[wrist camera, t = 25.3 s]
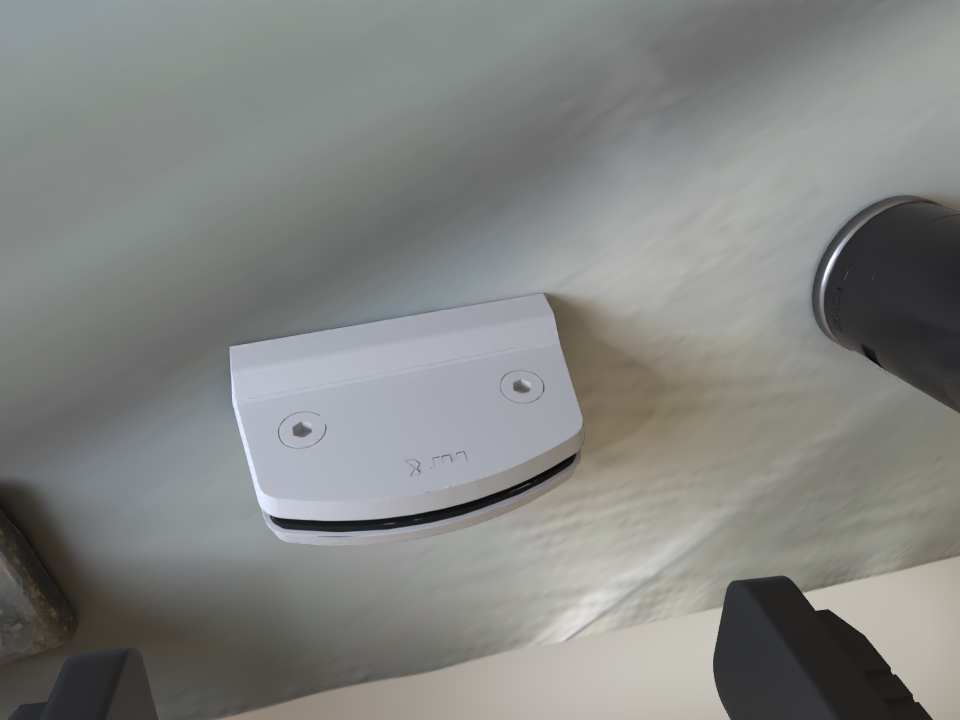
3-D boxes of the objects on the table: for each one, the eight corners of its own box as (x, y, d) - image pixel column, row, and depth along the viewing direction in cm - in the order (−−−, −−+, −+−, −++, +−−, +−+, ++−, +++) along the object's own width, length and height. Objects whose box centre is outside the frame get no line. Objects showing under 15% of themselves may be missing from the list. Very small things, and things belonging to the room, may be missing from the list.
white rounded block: (550, 291, 39) (627, 438, 32) (543, 354, 42) (611, 499, 36) (220, 348, 35) (230, 524, 29) (241, 411, 39) (254, 583, 32)
